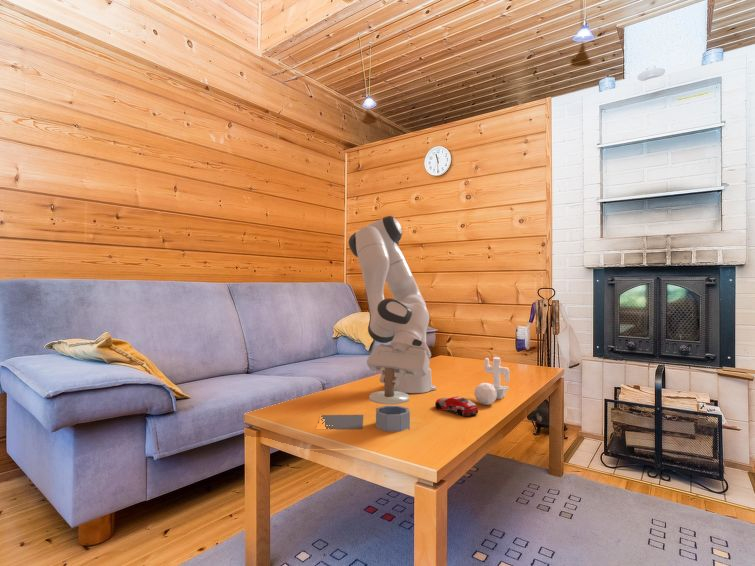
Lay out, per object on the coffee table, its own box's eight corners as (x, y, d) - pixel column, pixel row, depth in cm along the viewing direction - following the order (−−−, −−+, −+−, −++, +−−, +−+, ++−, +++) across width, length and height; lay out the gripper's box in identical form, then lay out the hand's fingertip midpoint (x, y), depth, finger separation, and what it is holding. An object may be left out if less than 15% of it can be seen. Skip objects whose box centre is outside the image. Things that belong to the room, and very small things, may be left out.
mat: (320, 416, 140) (320, 415, 140) (363, 415, 140) (363, 414, 140) (314, 430, 126) (314, 429, 126) (362, 430, 126) (362, 429, 126)
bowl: (375, 421, 134) (375, 405, 134) (407, 421, 134) (407, 405, 134) (376, 432, 124) (376, 415, 124) (410, 432, 124) (410, 415, 124)
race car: (431, 408, 150) (431, 394, 150) (444, 404, 154) (444, 391, 154) (467, 419, 137) (467, 403, 137) (480, 415, 141) (480, 400, 141)
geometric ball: (483, 413, 152) (473, 397, 149) (478, 399, 159) (468, 384, 157) (502, 403, 150) (492, 387, 148) (497, 390, 158) (487, 374, 155)
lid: (369, 393, 135) (370, 365, 135) (407, 394, 135) (407, 365, 135) (368, 404, 123) (369, 372, 123) (410, 404, 123) (410, 373, 123)
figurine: (506, 400, 158) (506, 360, 158) (481, 397, 163) (481, 357, 163) (511, 396, 164) (511, 357, 164) (487, 393, 169) (487, 355, 169)
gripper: (373, 337, 141) (356, 372, 133) (430, 342, 130) (414, 381, 122) (380, 349, 145) (364, 384, 136) (436, 355, 134) (421, 393, 125)
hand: (388, 382), depth 129 cm, fingers closed on lid, 3 cm apart
